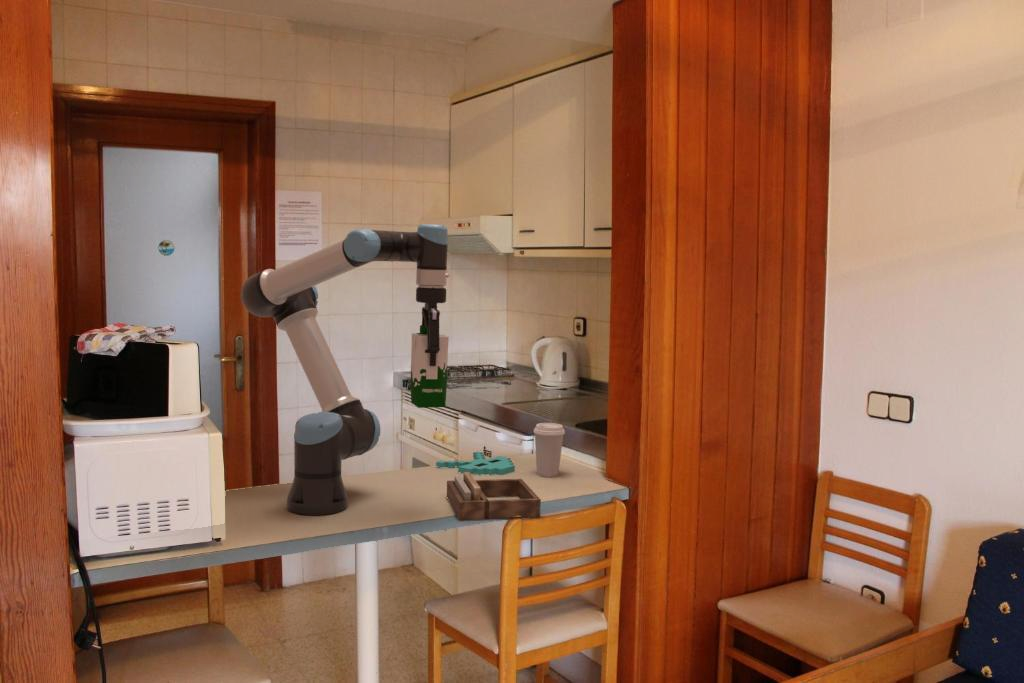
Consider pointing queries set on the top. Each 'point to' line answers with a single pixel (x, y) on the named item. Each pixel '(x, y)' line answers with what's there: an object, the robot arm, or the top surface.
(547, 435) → the coffee cup
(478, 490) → the birch offcut
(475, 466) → the alien figure
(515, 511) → the offcut rack
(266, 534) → the top surface
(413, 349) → the soya milk
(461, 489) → the grey offcut
